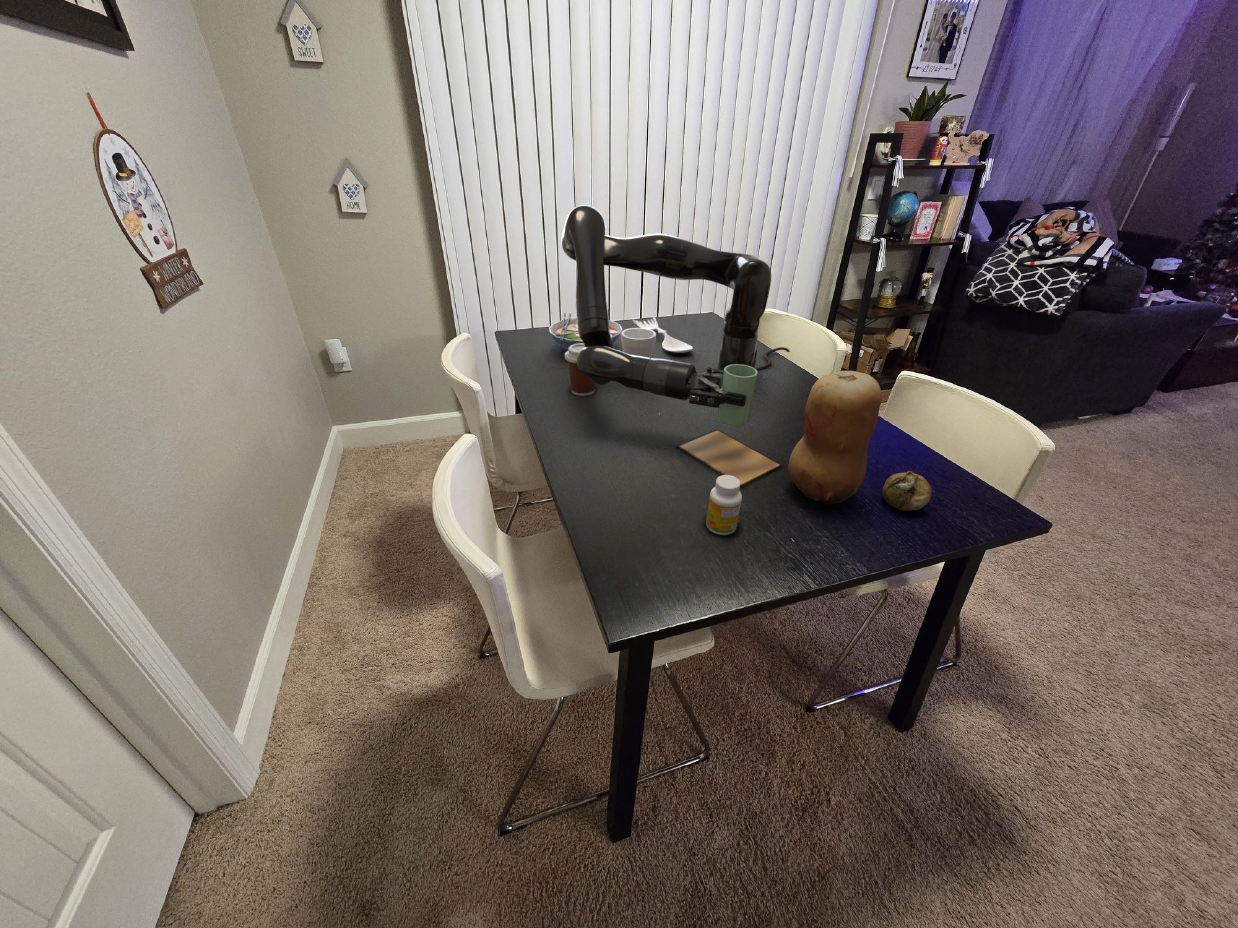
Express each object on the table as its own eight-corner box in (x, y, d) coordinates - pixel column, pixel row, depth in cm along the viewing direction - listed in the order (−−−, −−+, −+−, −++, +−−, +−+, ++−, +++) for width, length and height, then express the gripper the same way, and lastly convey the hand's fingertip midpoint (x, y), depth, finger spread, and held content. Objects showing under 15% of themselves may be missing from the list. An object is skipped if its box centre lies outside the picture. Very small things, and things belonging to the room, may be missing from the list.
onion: (930, 520, 91) (947, 485, 87) (884, 515, 92) (898, 479, 88) (917, 496, 97) (932, 461, 93) (874, 491, 98) (886, 457, 94)
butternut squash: (776, 474, 103) (802, 358, 89) (842, 476, 102) (878, 360, 89) (793, 517, 91) (826, 392, 77) (868, 519, 91) (914, 394, 77)
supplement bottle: (702, 516, 91) (708, 472, 86) (731, 515, 91) (739, 471, 86) (709, 536, 87) (716, 491, 81) (740, 535, 87) (748, 490, 82)
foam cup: (650, 386, 138) (653, 340, 131) (617, 383, 139) (618, 338, 132) (655, 373, 145) (658, 329, 138) (624, 370, 147) (625, 326, 140)
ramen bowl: (621, 366, 149) (622, 340, 145) (545, 365, 149) (543, 338, 145) (622, 338, 170) (622, 314, 165) (555, 337, 170) (553, 313, 166)
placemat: (679, 447, 111) (679, 445, 111) (717, 432, 117) (717, 430, 117) (741, 486, 99) (741, 484, 99) (779, 466, 105) (780, 464, 105)
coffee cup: (580, 401, 130) (578, 357, 123) (559, 389, 135) (557, 346, 129) (607, 391, 135) (607, 348, 128) (586, 380, 140) (585, 339, 134)
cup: (732, 408, 107) (739, 361, 101) (755, 420, 102) (764, 372, 97) (711, 416, 103) (717, 368, 98) (733, 428, 99) (742, 379, 93)
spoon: (654, 325, 182) (654, 315, 180) (697, 356, 157) (698, 345, 155) (631, 328, 179) (631, 318, 177) (672, 359, 154) (672, 348, 152)
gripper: (658, 374, 97) (745, 390, 91) (681, 350, 108) (759, 363, 102) (656, 409, 101) (738, 426, 95) (678, 382, 112) (753, 396, 106)
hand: (749, 393), depth 99 cm, fingers closed on cup, 6 cm apart
